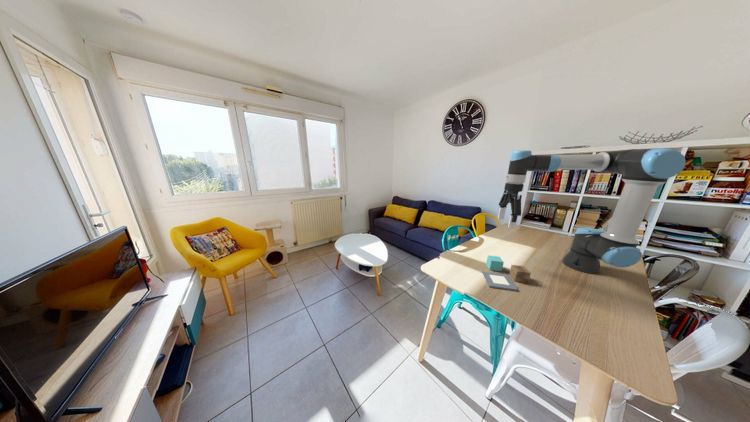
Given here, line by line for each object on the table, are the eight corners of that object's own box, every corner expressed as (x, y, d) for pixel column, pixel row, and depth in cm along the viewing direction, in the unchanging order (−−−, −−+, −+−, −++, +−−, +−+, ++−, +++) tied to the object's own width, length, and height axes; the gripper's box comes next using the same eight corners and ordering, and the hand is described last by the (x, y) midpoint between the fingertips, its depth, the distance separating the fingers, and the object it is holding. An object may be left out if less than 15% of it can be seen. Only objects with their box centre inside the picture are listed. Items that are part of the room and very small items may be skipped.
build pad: (506, 276, 101) (507, 274, 100) (517, 291, 90) (518, 289, 89) (482, 272, 103) (482, 271, 103) (489, 287, 92) (490, 285, 92)
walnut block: (521, 276, 101) (524, 266, 99) (527, 283, 95) (530, 273, 94) (509, 274, 102) (511, 264, 101) (514, 281, 97) (517, 271, 95)
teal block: (497, 265, 110) (499, 256, 109) (501, 271, 105) (503, 262, 103) (486, 264, 112) (487, 255, 110) (489, 270, 106) (491, 260, 104)
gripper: (496, 179, 107) (489, 215, 113) (518, 186, 83) (507, 231, 89) (511, 180, 105) (504, 216, 111) (537, 187, 82) (525, 232, 88)
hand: (505, 223), depth 100 cm, fingers open, 13 cm apart
